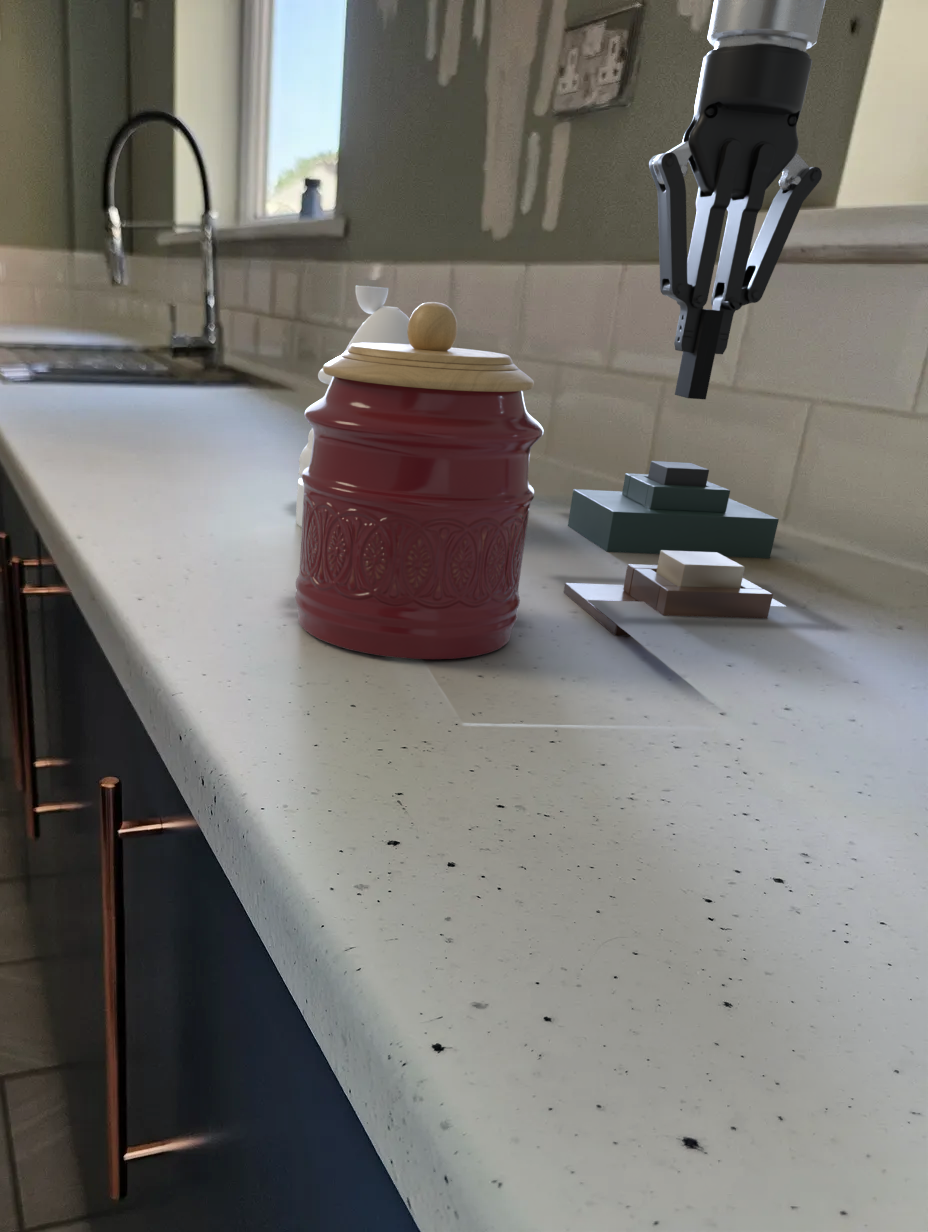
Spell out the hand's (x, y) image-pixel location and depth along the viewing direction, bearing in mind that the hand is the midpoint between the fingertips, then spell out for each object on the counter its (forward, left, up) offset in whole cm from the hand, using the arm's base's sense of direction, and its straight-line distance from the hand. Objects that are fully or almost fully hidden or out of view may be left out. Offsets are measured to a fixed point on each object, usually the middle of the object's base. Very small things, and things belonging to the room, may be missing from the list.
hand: (690, 396), depth 91 cm
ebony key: (0, 0, -7) cm, 7 cm away
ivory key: (+8, +24, -10) cm, 27 cm away
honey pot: (+25, -1, -12) cm, 28 cm away
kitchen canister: (+28, +29, -12) cm, 42 cm away
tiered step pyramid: (0, 0, -12) cm, 12 cm away
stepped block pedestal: (+8, +24, -12) cm, 27 cm away
